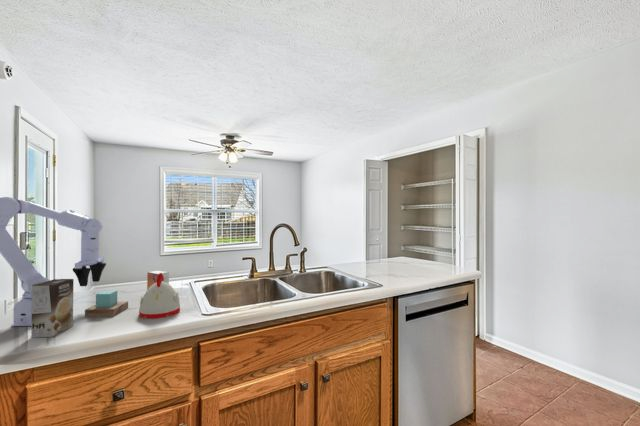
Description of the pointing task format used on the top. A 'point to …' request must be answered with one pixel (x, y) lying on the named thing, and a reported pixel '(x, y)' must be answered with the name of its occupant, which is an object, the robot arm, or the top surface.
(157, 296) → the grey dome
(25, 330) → the top surface
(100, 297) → the teal cube
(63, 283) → the coffee box
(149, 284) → the small box
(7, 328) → the top surface
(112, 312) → the walnut block
